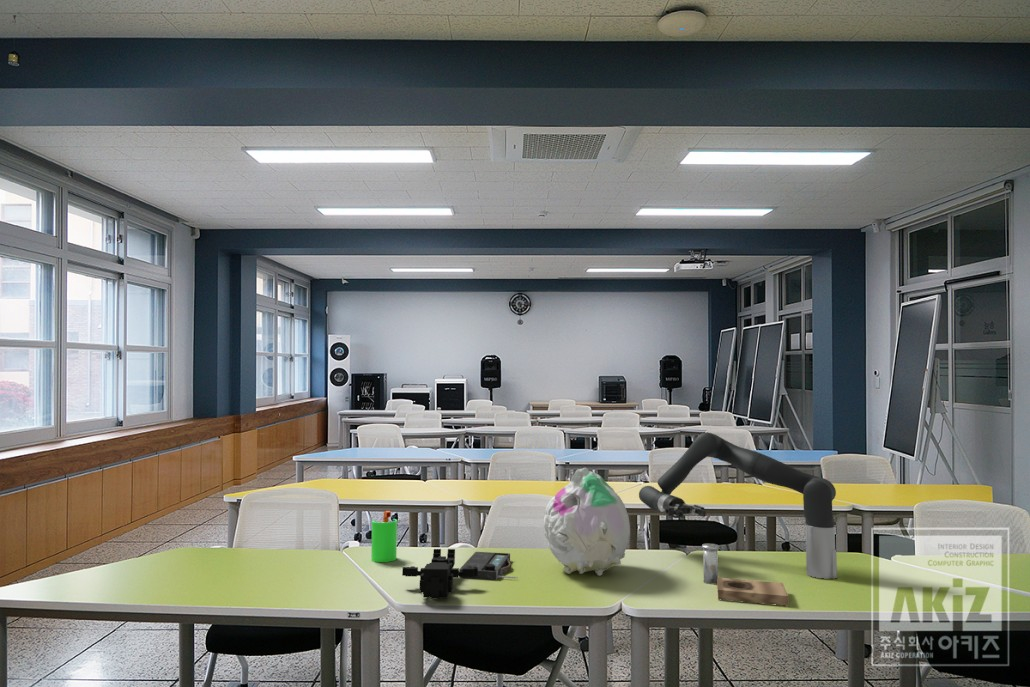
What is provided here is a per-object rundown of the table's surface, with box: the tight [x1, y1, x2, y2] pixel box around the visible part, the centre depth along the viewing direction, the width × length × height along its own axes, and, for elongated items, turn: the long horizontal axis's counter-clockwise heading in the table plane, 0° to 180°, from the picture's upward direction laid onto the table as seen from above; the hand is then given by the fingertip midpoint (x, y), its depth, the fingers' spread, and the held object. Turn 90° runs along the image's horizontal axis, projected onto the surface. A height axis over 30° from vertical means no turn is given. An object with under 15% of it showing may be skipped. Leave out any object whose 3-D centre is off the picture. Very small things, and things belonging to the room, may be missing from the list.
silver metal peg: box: [701, 543, 720, 584], centre depth 222 cm, size 5×5×12 cm
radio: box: [458, 551, 519, 581], centre depth 234 cm, size 25×4×20 cm
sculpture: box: [543, 467, 631, 577], centre depth 234 cm, size 33×36×30 cm
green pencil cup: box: [370, 510, 398, 563], centre depth 246 cm, size 9×8×18 cm
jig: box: [716, 576, 789, 607], centre depth 206 cm, size 20×14×3 cm
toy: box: [401, 548, 478, 599], centre depth 210 cm, size 24×10×30 cm
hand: (693, 514), depth 233 cm, fingers open, 8 cm apart
